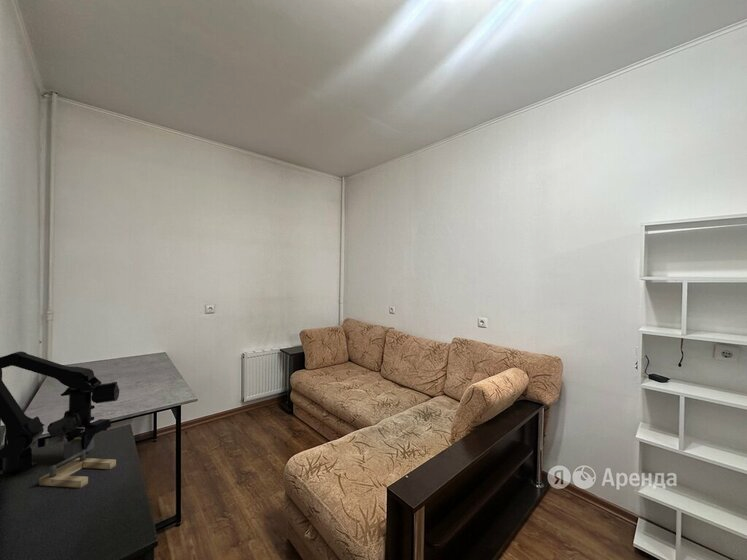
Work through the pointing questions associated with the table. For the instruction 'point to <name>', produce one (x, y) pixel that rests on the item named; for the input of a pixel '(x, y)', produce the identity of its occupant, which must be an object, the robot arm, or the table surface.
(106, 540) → the table surface
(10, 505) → the table surface
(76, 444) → the banded grey block
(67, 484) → the wooden u-shaped holder
